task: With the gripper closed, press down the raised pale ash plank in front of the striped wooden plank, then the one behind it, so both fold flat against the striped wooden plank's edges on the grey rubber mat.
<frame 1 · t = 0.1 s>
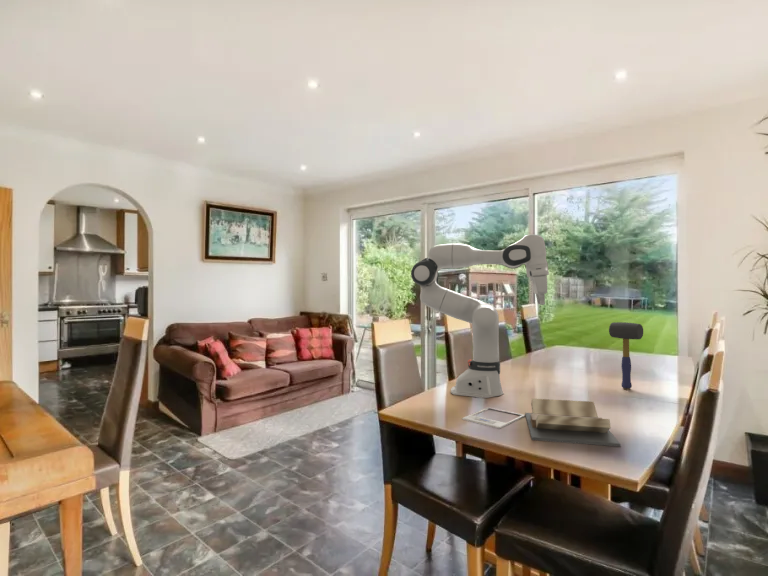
hand: (541, 304, 178), 39 cm above the table, tool pointing down, fingers open, 8 cm apart
striped wooden plank: (567, 422, 136), on the underlay mat, point 2 cm above the table
rubber mallet: (626, 389, 188), on the table
ash plank near: (571, 423, 129), point 4 cm above the table, hinge at 30.0°
ash plank far: (563, 410, 143), point 4 cm above the table, hinge at 30.0°
photo frame: (493, 419, 148), on the table
underlay mat: (567, 428, 136), on the table
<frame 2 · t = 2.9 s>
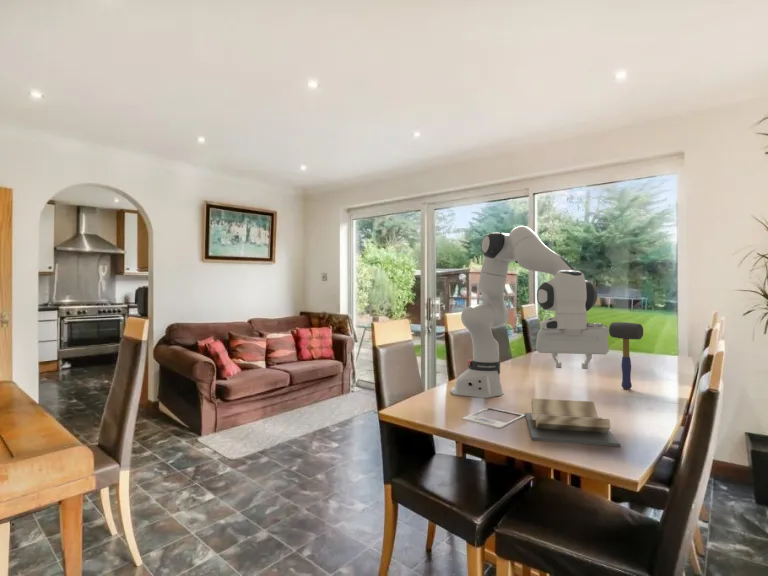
hand: (571, 368, 128), 21 cm above the table, tool pointing down, fingers open, 6 cm apart
nothing on the table moved.
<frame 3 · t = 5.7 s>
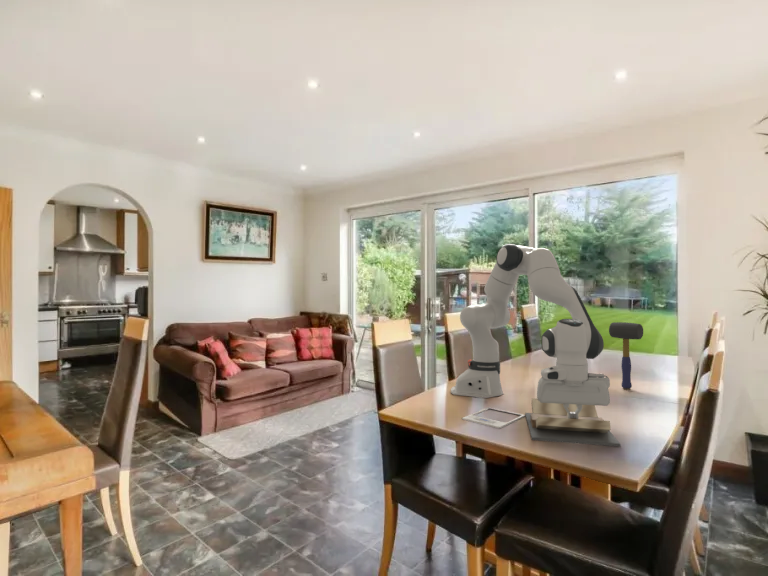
hand: (572, 418, 127), 6 cm above the table, tool pointing down, fingers closed, pressing on ash plank near
ash plank near: (571, 424, 129), point 4 cm above the table, hinge at 25.4°, touching gripper
everything else where it was.
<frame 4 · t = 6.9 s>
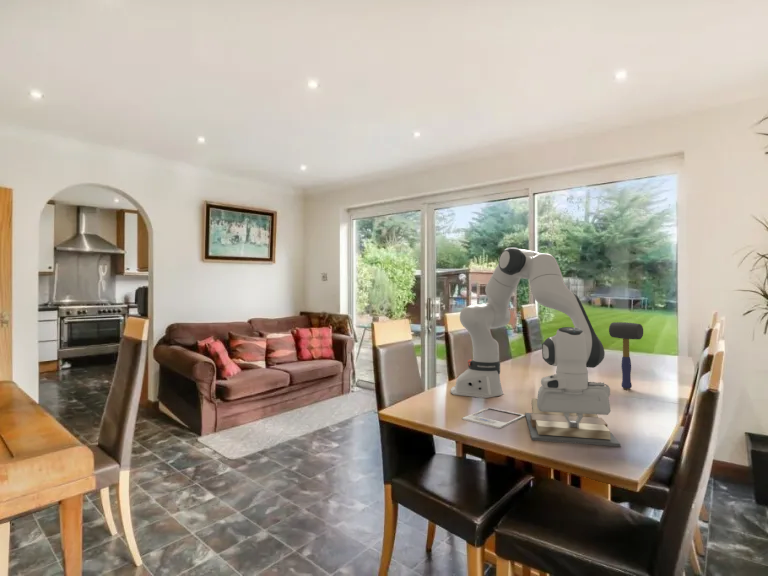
hand: (573, 427, 127), 3 cm above the table, tool pointing down, fingers closed, pressing on ash plank near
ash plank near: (571, 429, 129), point 2 cm above the table, hinge at 2.5°, touching gripper
everything else where it was.
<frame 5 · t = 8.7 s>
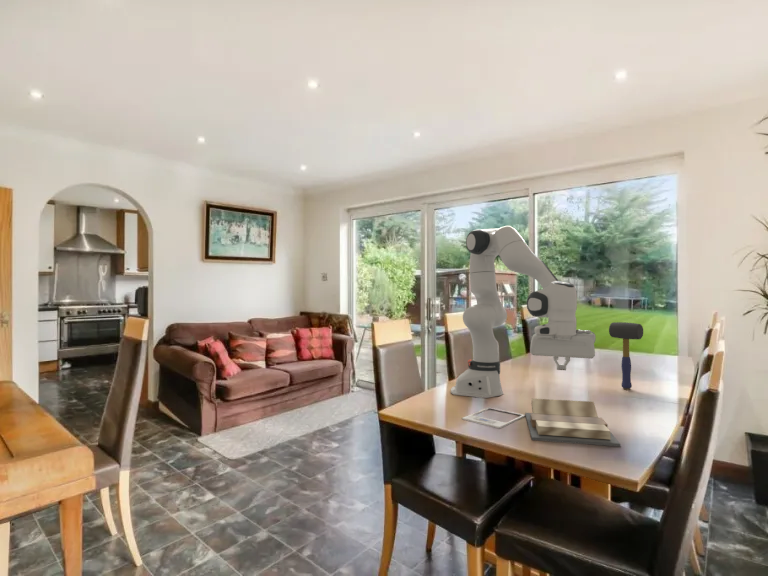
hand: (561, 369, 143), 18 cm above the table, tool pointing down, fingers closed
ash plank near: (571, 429, 129), point 2 cm above the table, hinge at 2.4°
everything else where it was.
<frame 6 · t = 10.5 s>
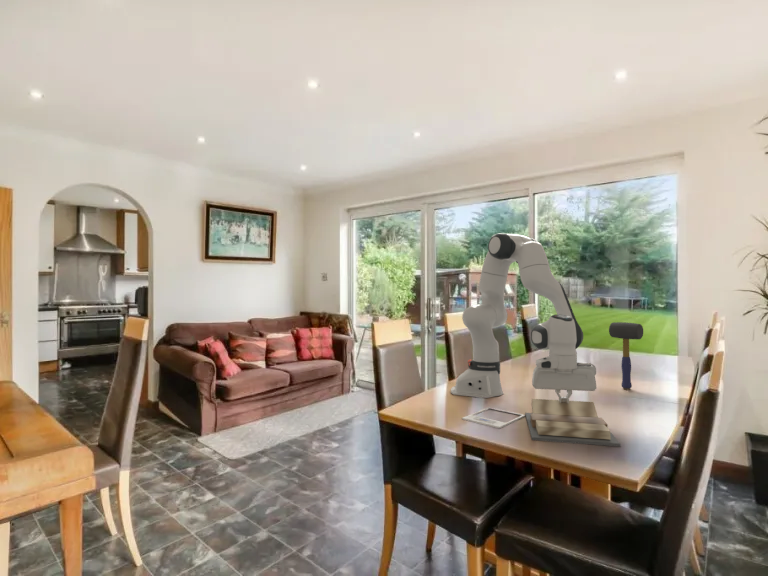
hand: (563, 402, 144), 6 cm above the table, tool pointing down, fingers closed, pressing on ash plank far
ash plank far: (563, 410, 143), point 4 cm above the table, hinge at 29.0°, touching gripper
everything else where it was.
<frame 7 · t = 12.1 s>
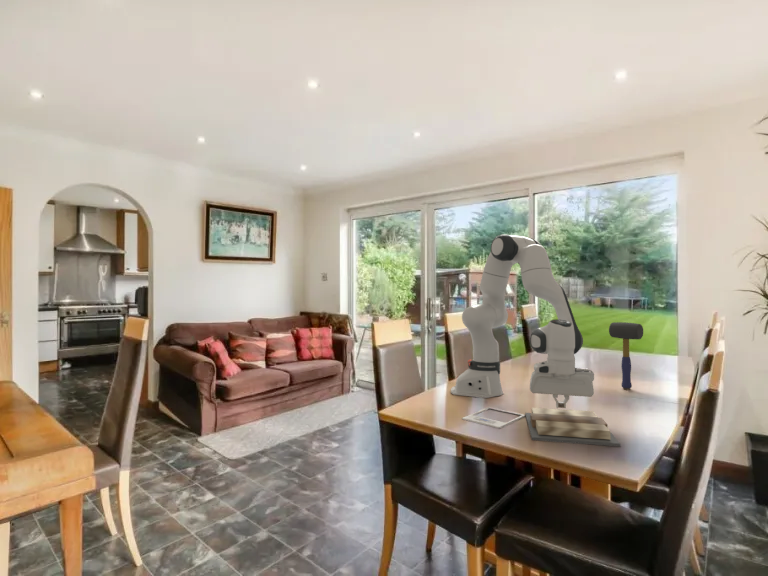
hand: (560, 407, 144), 5 cm above the table, tool pointing down, fingers closed
ash plank far: (563, 415, 143), point 2 cm above the table, hinge at 0.0°, touching underlay mat
everything else where it was.
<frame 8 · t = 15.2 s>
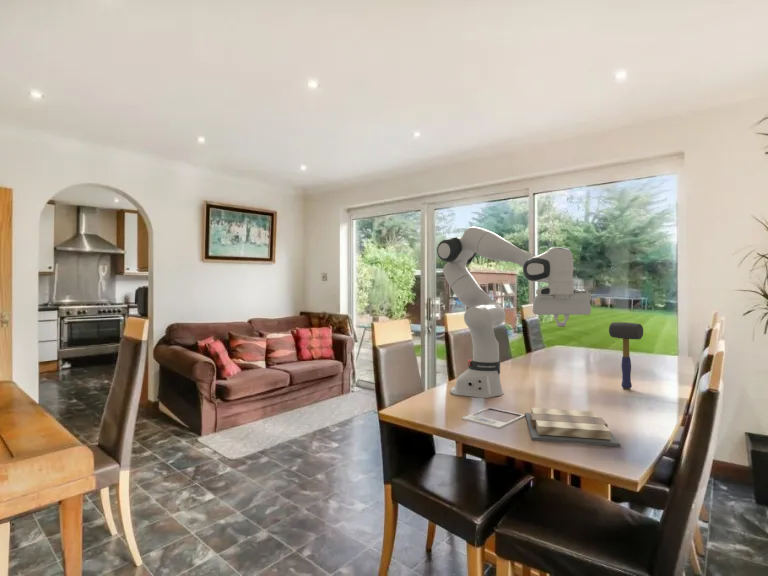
hand: (561, 326, 158), 31 cm above the table, tool pointing down, fingers closed
nothing on the table moved.
at the end: ash plank near at +2° (first picture: +30°); ash plank far at +0° (first picture: +30°) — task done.
